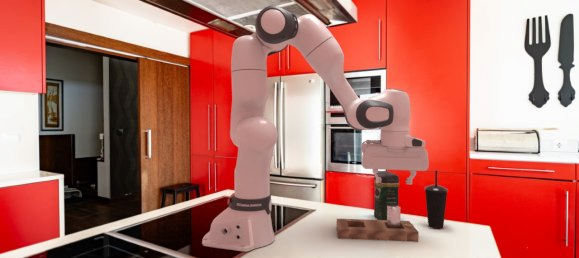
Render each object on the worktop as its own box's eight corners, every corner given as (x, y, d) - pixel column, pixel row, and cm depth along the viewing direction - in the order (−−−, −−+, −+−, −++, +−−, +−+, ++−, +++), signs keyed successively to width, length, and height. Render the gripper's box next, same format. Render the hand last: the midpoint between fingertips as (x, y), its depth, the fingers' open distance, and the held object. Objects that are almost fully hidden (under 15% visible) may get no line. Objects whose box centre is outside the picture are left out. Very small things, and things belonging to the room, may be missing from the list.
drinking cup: (421, 222, 112) (422, 168, 112) (444, 223, 111) (444, 169, 110) (426, 229, 105) (427, 172, 104) (450, 231, 103) (451, 172, 102)
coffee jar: (402, 224, 110) (402, 173, 109) (381, 225, 109) (381, 174, 108) (390, 216, 120) (390, 169, 119) (371, 217, 119) (371, 169, 118)
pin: (388, 236, 96) (388, 208, 95) (386, 232, 100) (386, 204, 99) (401, 237, 95) (401, 208, 95) (398, 232, 99) (398, 205, 99)
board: (338, 241, 94) (338, 228, 94) (336, 230, 104) (336, 217, 104) (418, 244, 92) (418, 230, 92) (409, 232, 102) (409, 220, 102)
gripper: (362, 140, 95) (361, 184, 95) (431, 141, 92) (430, 187, 93) (360, 139, 101) (359, 180, 101) (424, 140, 99) (423, 183, 99)
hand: (393, 183), depth 97 cm, fingers open, 8 cm apart
